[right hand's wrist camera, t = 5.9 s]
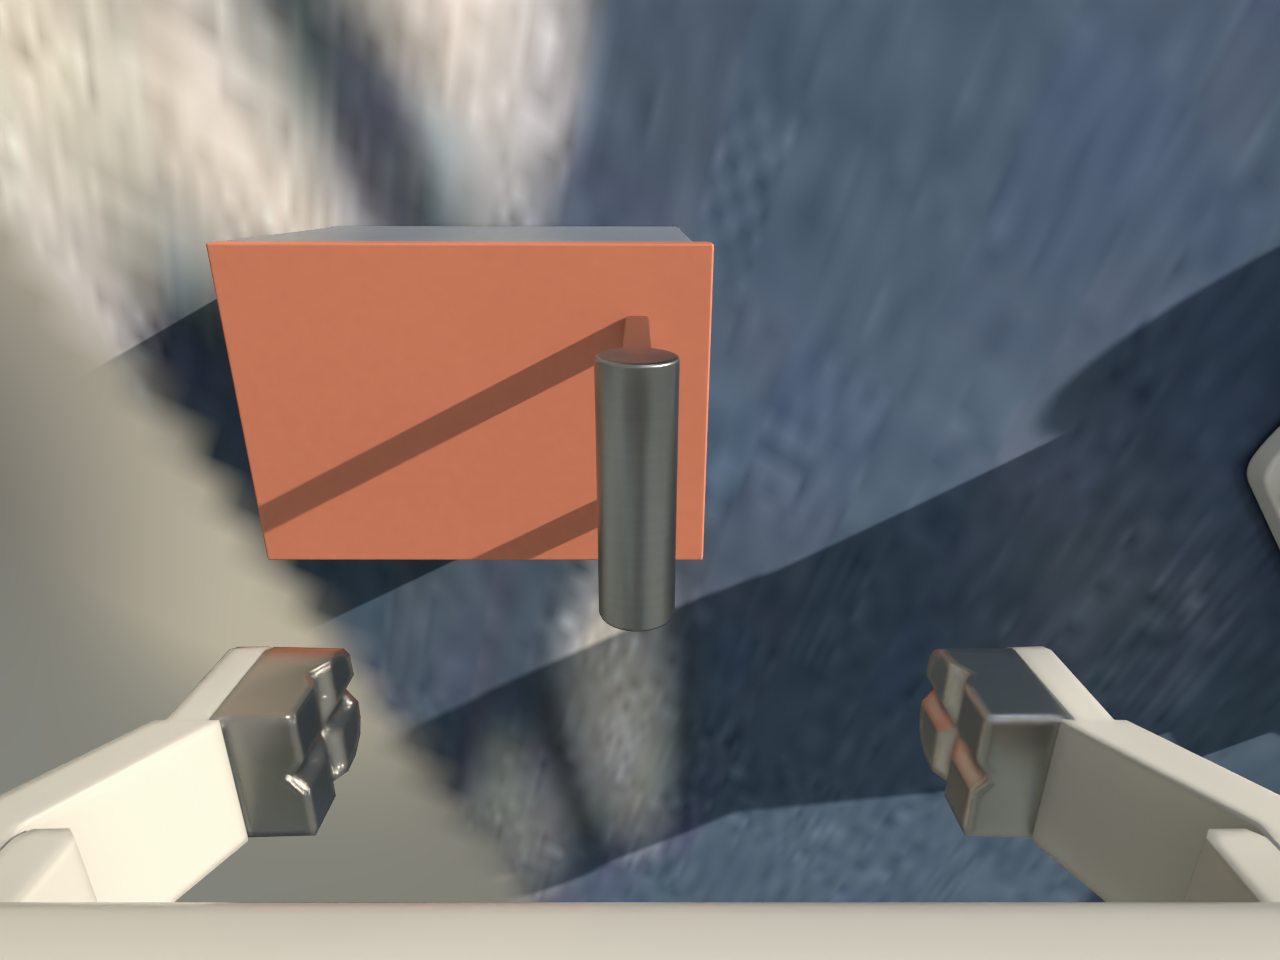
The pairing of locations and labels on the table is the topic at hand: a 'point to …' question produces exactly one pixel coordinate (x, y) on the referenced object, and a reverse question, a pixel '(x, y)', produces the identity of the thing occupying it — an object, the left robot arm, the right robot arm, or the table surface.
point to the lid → (477, 403)
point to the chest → (484, 234)
